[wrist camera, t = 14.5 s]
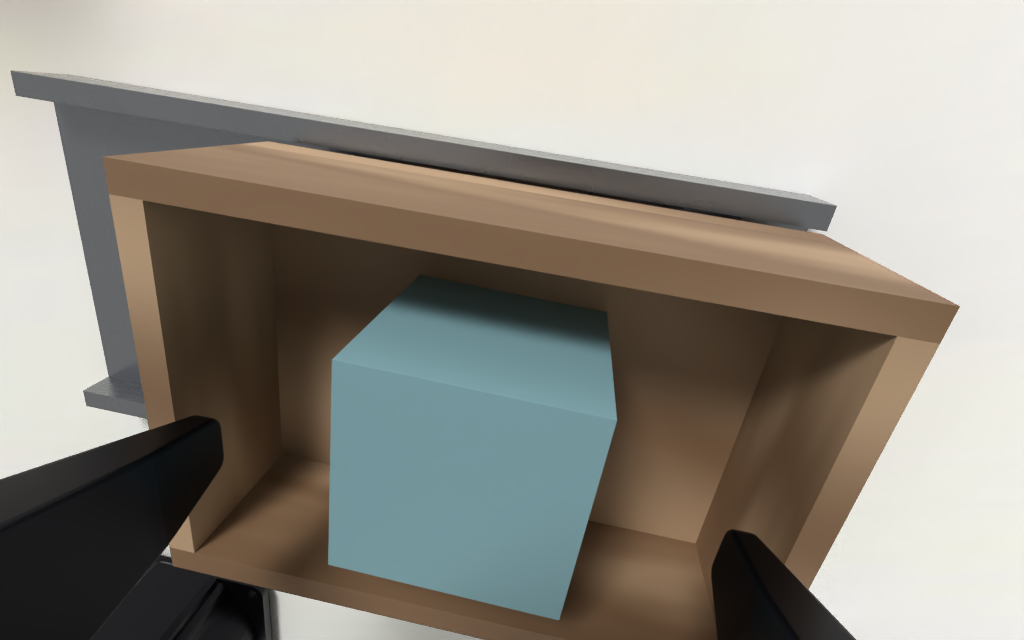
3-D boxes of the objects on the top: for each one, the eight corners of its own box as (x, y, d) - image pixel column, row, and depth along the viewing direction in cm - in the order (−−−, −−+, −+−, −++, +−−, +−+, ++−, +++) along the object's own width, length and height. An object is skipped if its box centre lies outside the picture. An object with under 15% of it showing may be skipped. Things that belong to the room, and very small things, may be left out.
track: (695, 501, 17) (705, 538, 16) (125, 382, 19) (86, 405, 17) (809, 195, 13) (837, 205, 12) (68, 74, 15) (10, 70, 13)
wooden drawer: (695, 507, 16) (748, 701, 11) (301, 424, 17) (173, 565, 12) (801, 223, 12) (959, 305, 7) (294, 138, 13) (102, 157, 8)
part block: (568, 465, 14) (559, 620, 9) (405, 429, 14) (328, 564, 10) (607, 312, 12) (617, 420, 8) (419, 274, 12) (331, 358, 8)
